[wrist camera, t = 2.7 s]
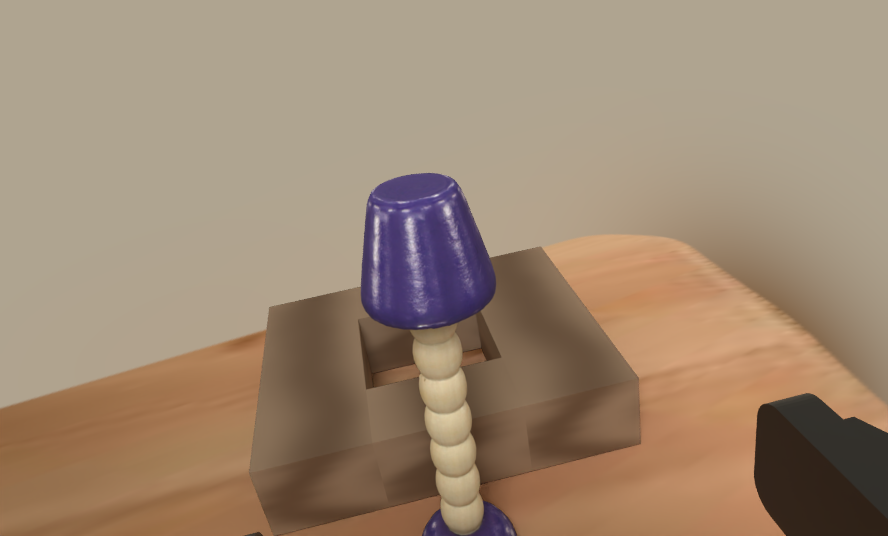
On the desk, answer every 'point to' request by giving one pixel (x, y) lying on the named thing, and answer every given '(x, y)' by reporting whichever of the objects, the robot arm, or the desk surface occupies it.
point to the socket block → (402, 408)
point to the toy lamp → (434, 325)
